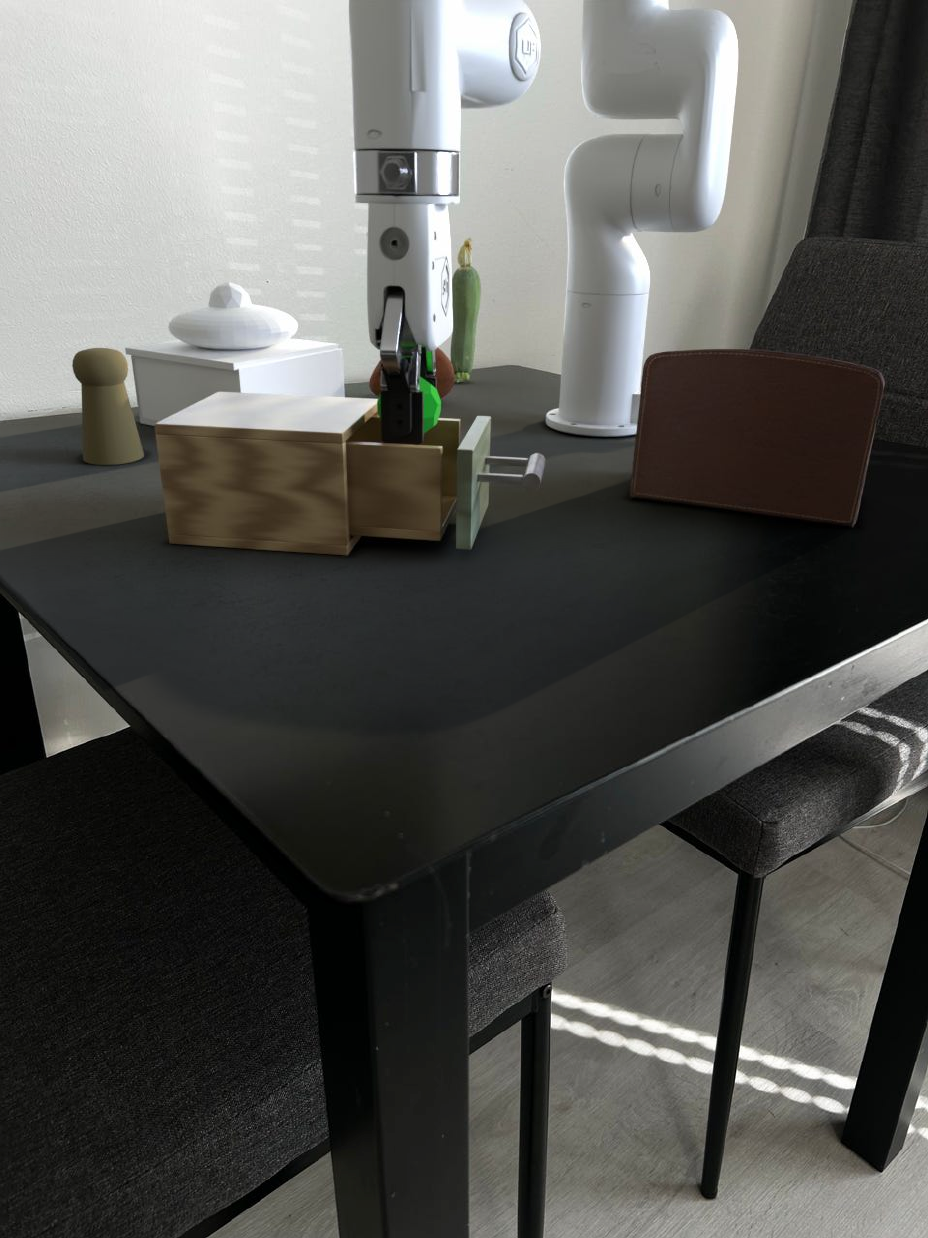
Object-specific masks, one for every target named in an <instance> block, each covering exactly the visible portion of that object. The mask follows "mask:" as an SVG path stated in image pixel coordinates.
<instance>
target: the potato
mask: <svg viewBox="0 0 928 1238" xmlns="http://www.w3.org/2000/svg"><path fill="white" fill-rule="evenodd" d="M408 348H409V347H408ZM435 363H436V371H435V376H428V377H437V392H438V394H439V397H440V400H441V399H442V398H444V397H446V396H448V395H449V393H450V392H452V389H453V387H454V385H455V375H454V370H453V365H452V363H451V359H450V358H449V357H448V356H447V355H446V354H445V352H444V351H443V350H442V349H441V348H439V347H438V348H437V349H436V350H435ZM380 381H381V359H380V360H379V361H378V363H377V364H376V366H375V367H374V369H373V371H372V374H371V375H370V378H369V384H368V385H369V389H370V392H372V393H373V394H374V395H375V396H377V397H379V394H380V391H381V386H380Z"/></svg>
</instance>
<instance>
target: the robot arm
mask: <svg viewBox="0 0 928 1238" xmlns="http://www.w3.org/2000/svg"><path fill="white" fill-rule="evenodd" d="M669 7H670V6H669V0H582V23H581V30H582V31H581V55H580V56H581V57H580V60H581V61H580V80H581V83H580V84H581V96H582V99H583V103H584V106H585V108H586V109H587V110H588V112H589V113H591V114H592V115H594V116H595V117H599V118H601V119H609V120H678V121H679V122H681V127H682V133H612V134H611V133H610V134H602V135H597V136H593V137H590V138H587V139H586V140H584V141H582V142H580V143H579V144H578V145H576V147H574V148H573V150H572V151H571V152H570V154H569V156H568V157H567V160H566V163H565V167H564V170H563V172H564V173H563V194H564V195H563V196H564V206H565V214H566V215H565V216H566V227H567V228H566V229H567V266H566V267H567V269H566V287H565V288H566V289H565V300H564V303H565V304H564V316H563V317H564V318H563V336H562V352H561V367H560V369H561V370H560V384H559V387H560V388H559V401H558V402H559V403H558V407H557V408H554V409H551V410H549V411H547V413H546V415H545V424H546V425H547V426H548V427H549V428H551V429H553V430H555V431H558V432H562V433H566V434H571V435H577V436H583V437H584V436H585V437H601V438H603V437H604V438H610V437H611V438H612V437H613V438H614V437H628V436H634V435H635V436H636V431H637V422H638V413H639V404H640V393H641V382H642V372H643V359H644V349H645V341H646V340H645V339H646V328H647V327H646V326H647V319H648V307H649V299H650V298H649V296H650V289H651V288H650V287H651V271H650V267H649V264H648V261H647V258H646V256H645V254H644V253H643V250H642V249H641V247H640V246H639V244H638V242H637V240H636V238H635V237H634V234H633V233H642V232H653V233H654V232H655V233H697V232H698V233H699V232H702V231H705V230H707V229H709V228H710V227H712V226H713V225H714V223H715V222H716V221H717V220H718V218H719V216H720V213H721V211H722V208H723V204H724V200H725V196H726V189H727V181H728V174H729V164H730V153H731V142H732V135H733V134H732V133H733V125H734V124H733V123H734V114H735V106H736V105H735V104H736V95H737V84H738V69H739V44H738V37H737V32H736V29H735V25H734V23H733V21H732V20H731V18H730V16H728V15H727V14H726V13H725V12H723V11H721V10H719V9H715V8H708V7H703V8H701V7H699V8H683V9H670V8H669ZM348 29H349V30H348V31H349V32H348V33H349V50H348V52H349V63H350V87H351V89H350V91H351V120H352V149H353V179H354V181H353V183H354V203H356V204H367V226H366V227H367V228H366V229H367V230H366V305H367V325H368V335H369V341H370V343H371V345H372V346H373V347H374V348H375V349H377V350H378V351H379V358H380V360H381V381H380V386H381V391H380V398H381V438H382V441H383V442H384V443H391V444H410V445H420V444H421V443H422V442H423V440H424V391H419V385H420V377H422V378H423V379H424V380H426V381H427V382H429V383H430V384H431V385H432V386H434V387H435V388H436V389H437V377H428V376H435V371H436V363H435V350H436V349H437V348H439V347H441V346H442V345H443V344H444V343H445V342H446V341H447V340H448V339H449V338H450V337H452V332H453V305H452V278H453V273H452V272H453V271H452V269H453V268H452V266H453V265H452V238H451V225H450V215H449V206H448V205H460V204H461V203H460V202H461V197H460V195H461V153H460V152H461V136H462V135H461V134H462V133H461V130H462V129H461V125H462V110H471V109H474V110H475V109H477V110H478V109H494V108H501V107H504V106H507V105H511V104H512V103H515V102H516V101H517V100H519V99H520V98H521V97H522V96H524V95H525V94H526V93H527V91H528V90H529V89H530V87H531V86H532V84H533V82H534V80H535V79H536V76H537V74H538V70H539V67H540V62H541V55H542V54H541V53H542V50H541V49H542V47H541V46H542V45H541V36H540V30H539V27H538V24H537V21H536V19H535V15H534V14H533V12H532V10H531V9H530V7H529V6H528V4H526V2H525V1H524V0H348ZM408 347H409V348H408Z"/></svg>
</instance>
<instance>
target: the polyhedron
mask: <svg viewBox="0 0 928 1238" xmlns="http://www.w3.org/2000/svg"><path fill="white" fill-rule="evenodd" d="M419 391H424V433H426V432H427V431H428V430H430V429H431V428H432V427H434V426H435V425H436V424H437V422H438V418H440V414H441V411H442V400H441V399H440V397H439V394H438V392H437V389H436V388H435V387H434V386H432V385H431V384H430V383H429V382H427V381H426V380H424V379H423V378H422V377H420V385H419ZM377 399H378V401H377V412H378V414H379V417H380V420H381V398H380V394H379V396H378V398H377Z"/></svg>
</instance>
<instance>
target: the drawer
mask: <svg viewBox="0 0 928 1238" xmlns="http://www.w3.org/2000/svg"><path fill="white" fill-rule="evenodd" d="M491 432H492V416H490V415H477V416H476V417H475V419H474V421H473V422H472V424H471V425H470V427H469V430H468V431H467V433H466V434H465V436H464V437H463V439H462V440H461V418H448V417H447V418H445V417H439V418H438V422H437V424H436V425H435V426H434V427H432V428H431V429H430V430H428V431H427V432H426V433H424V440H423V442H422V443H421V444H420V445H410V444H391V443H384V442H383V441H382V438H381V420H380V417H379V415H373V416H372V417H371V418H370V419H369V420H368V421H367V422H365V423H364V424H363V425H362V426H361V427H360V428H359V429H358V430H357V431H356V432H355V433H354V434H353V435H352V436H351V437H349V438H348V439H347V440H346V441H345V442H346V463H347V488H348V513H349V535H355V536H361V537H371V538H388V539H403V540H420V541H433V542H434V541H435V542H440V541H441V540H442V538H443V536H444V534H445V532H446V530H447V528H448V526H449V524H450V522H451V520H452V518H453V515H454V513H456V514H455V549H456V550H469V551H471V550H472V548H473V545H474V543H475V540H476V539H477V535H478V532H479V530H480V527H481V525H482V522H483V519H484V517H485V514H486V511H487V509H488V506H489V502H490V501H489V499H490V498H489V497H490V483H495V484H510V485H511V484H512V485H523V487H524V488H525V489H526V490H527V491H536V490H538V489H539V488H540V486H541V484H542V479H543V474H544V471H545V466H546V458H545V456H544V455H543V454H541V453H539V452H535V453H533V454H531V455H530V456H529V457H514V456H495V455H494V456H493V455H491V436H492V435H491ZM491 466H502V467H503V466H506V467H522V468H523V467H524V468H525V471H524V474H512V473H511V474H510V473H495V472H494V473H493V472H492V473H491V472H490V468H491Z"/></svg>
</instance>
